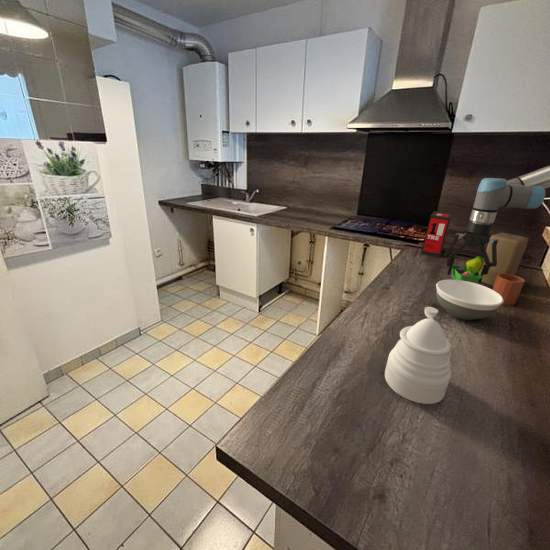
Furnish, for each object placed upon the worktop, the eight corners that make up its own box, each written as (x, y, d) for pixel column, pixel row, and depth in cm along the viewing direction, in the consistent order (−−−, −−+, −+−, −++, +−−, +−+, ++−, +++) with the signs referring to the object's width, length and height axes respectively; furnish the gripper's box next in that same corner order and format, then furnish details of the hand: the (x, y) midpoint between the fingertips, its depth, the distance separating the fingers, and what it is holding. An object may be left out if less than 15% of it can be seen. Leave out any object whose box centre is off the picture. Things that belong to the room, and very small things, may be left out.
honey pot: (383, 358, 74) (397, 295, 67) (438, 369, 71) (459, 305, 64) (385, 395, 63) (403, 324, 56) (451, 410, 60) (478, 337, 53)
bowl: (503, 334, 86) (513, 310, 83) (433, 321, 92) (440, 297, 88) (485, 306, 102) (493, 284, 99) (427, 295, 108) (432, 275, 105)
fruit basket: (447, 276, 122) (454, 250, 118) (471, 278, 120) (479, 252, 116) (457, 287, 112) (465, 259, 107) (482, 290, 110) (492, 262, 106)
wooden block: (512, 284, 120) (530, 237, 112) (502, 289, 115) (520, 241, 107) (485, 275, 128) (500, 231, 120) (474, 280, 123) (490, 234, 115)
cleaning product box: (425, 246, 167) (434, 211, 159) (442, 249, 162) (452, 213, 154) (421, 253, 154) (430, 215, 146) (439, 257, 150) (450, 218, 142)
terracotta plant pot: (515, 299, 108) (524, 277, 104) (514, 307, 102) (524, 284, 98) (490, 293, 112) (498, 271, 108) (488, 300, 106) (496, 277, 103)
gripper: (444, 219, 111) (430, 272, 119) (519, 229, 98) (497, 289, 106) (448, 216, 116) (435, 267, 125) (519, 225, 103) (499, 282, 112)
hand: (463, 277), depth 116 cm, fingers closed on fruit basket, 10 cm apart
